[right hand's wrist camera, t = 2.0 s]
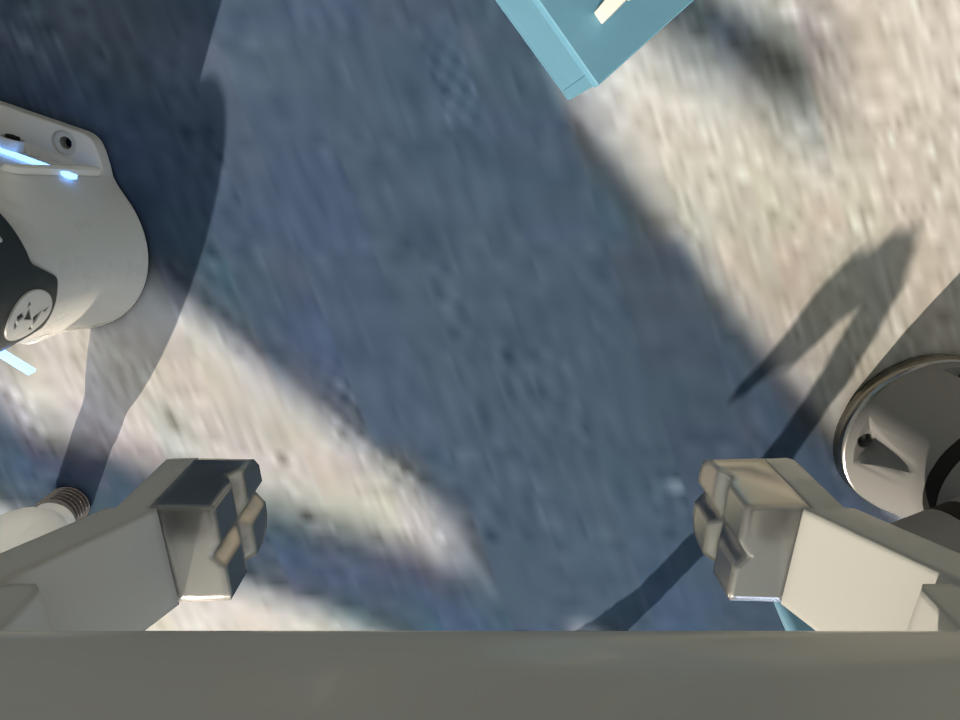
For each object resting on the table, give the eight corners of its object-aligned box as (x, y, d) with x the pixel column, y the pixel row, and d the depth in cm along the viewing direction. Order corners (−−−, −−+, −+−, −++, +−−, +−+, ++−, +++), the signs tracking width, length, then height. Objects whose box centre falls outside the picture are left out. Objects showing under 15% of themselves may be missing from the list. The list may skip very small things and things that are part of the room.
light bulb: (49, 462, 51) (-58, 539, 41) (118, 498, 53) (32, 581, 42) (23, 512, 53) (-86, 598, 43) (91, 545, 54) (1, 637, 44)
